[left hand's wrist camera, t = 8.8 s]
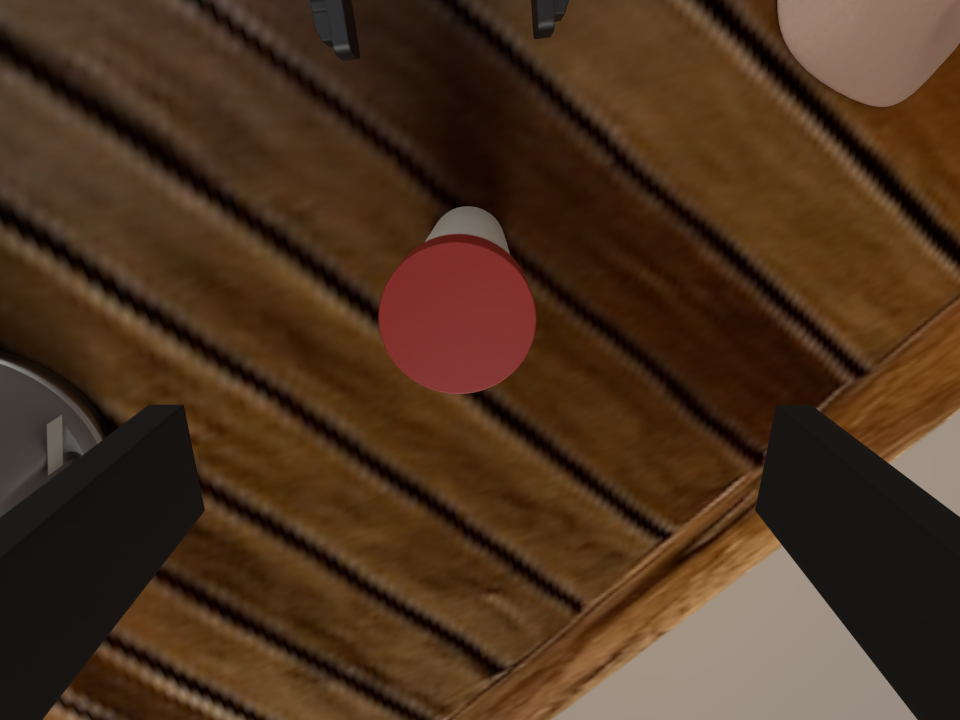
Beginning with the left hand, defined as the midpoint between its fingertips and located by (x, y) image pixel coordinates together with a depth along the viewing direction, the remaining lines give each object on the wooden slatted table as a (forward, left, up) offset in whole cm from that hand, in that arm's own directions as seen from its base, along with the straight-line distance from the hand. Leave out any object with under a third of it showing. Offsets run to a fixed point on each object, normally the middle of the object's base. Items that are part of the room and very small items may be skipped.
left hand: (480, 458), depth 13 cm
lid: (-1, +1, -6) cm, 7 cm away
